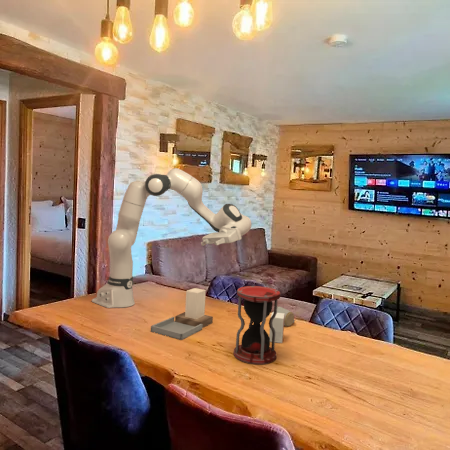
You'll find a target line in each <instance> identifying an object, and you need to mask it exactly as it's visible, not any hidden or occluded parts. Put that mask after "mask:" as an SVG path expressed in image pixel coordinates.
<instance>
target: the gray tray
mask: <svg viewBox="0 0 450 450" xmlns="http://www.w3.org/2000/svg"><path fill="white" fill-rule="evenodd" d="M202 325H203V324H199V325H197V326H195V327H194V326H190V325H186V324H182V323H178V322H175V316H172V317H169V318H167V319H164V320H162V321H160V322H157V323H155V324H151V326H150V332H151V333H154V332H155V333H154V334H157V333H158V334H157V335H161V334H162V335H161V336H165V335H166V336H165V337H168V336H169V337H168V338H173V339H175V338H176V340H180V341H183V340H185V339H186V338H189V337H190V336H193V335H195V334H196V333H198V332H199V333H200V331H203V328H202Z"/></svg>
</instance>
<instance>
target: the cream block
mask: <svg viewBox="0 0 450 450" xmlns="http://www.w3.org/2000/svg"><path fill="white" fill-rule="evenodd" d="M206 291H207V290H206V289H202V288H198V287H194V288H191V289H188V290H186V291H185V309H184V310H185V311H184V312H185V317H188V318H193V319H198V318H200V317H202V316H204V315H206V314H205V312H206Z"/></svg>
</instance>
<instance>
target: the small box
mask: <svg viewBox="0 0 450 450" xmlns="http://www.w3.org/2000/svg"><path fill="white" fill-rule="evenodd" d="M273 313H274V312H273V311H271V315H270V318H271V317H272V316H273ZM270 318H269V319H270ZM284 319H285V313H277V314H276V316H275V318H274V319H273V322H272V326H273V328H274V329H275V343H278V344H283V340H284V330H285V326H284ZM268 336H269V338H270V343H272V330H271V328H270V327H269V333H268Z"/></svg>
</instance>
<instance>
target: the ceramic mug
mask: <svg viewBox="0 0 450 450" xmlns="http://www.w3.org/2000/svg"><path fill="white" fill-rule="evenodd" d="M272 312H274V310H273V311H272ZM277 313H285V319H284V327H291V326H292V324H294V323H295V321H296V320H295V314H294V312H292V311H291V310H288V309H287V308H284V307H282V306H277Z"/></svg>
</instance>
